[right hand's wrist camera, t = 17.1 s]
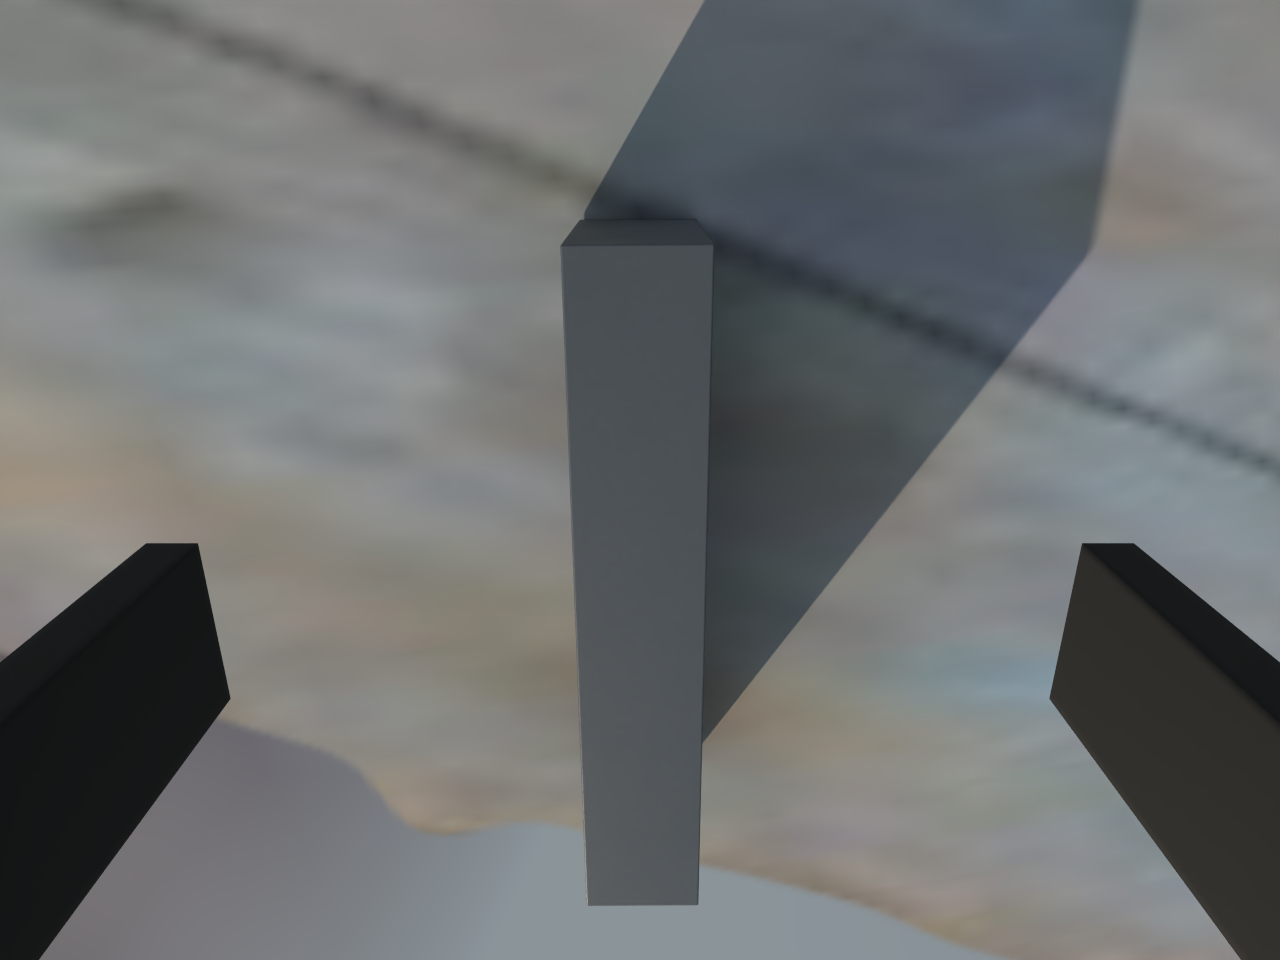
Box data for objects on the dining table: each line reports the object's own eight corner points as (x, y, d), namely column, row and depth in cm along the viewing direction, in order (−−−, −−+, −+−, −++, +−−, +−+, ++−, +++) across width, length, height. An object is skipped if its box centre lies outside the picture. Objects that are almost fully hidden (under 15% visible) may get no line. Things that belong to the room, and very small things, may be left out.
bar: (579, 219, 33) (560, 244, 25) (696, 218, 33) (714, 243, 25) (596, 764, 43) (586, 906, 35) (687, 763, 43) (698, 905, 35)
